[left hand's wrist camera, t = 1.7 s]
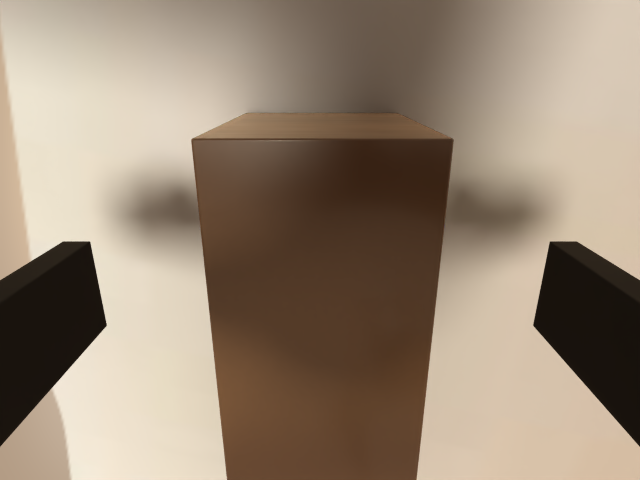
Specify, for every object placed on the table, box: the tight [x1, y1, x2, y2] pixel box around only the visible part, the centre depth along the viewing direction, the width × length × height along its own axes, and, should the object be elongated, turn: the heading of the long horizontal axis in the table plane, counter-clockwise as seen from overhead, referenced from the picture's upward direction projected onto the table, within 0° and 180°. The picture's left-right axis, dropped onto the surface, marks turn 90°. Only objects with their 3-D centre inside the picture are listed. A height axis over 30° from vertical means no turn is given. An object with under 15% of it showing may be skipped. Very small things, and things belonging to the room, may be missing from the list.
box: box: [191, 113, 454, 480], centre depth 20 cm, size 24×7×9 cm, turn 0°
